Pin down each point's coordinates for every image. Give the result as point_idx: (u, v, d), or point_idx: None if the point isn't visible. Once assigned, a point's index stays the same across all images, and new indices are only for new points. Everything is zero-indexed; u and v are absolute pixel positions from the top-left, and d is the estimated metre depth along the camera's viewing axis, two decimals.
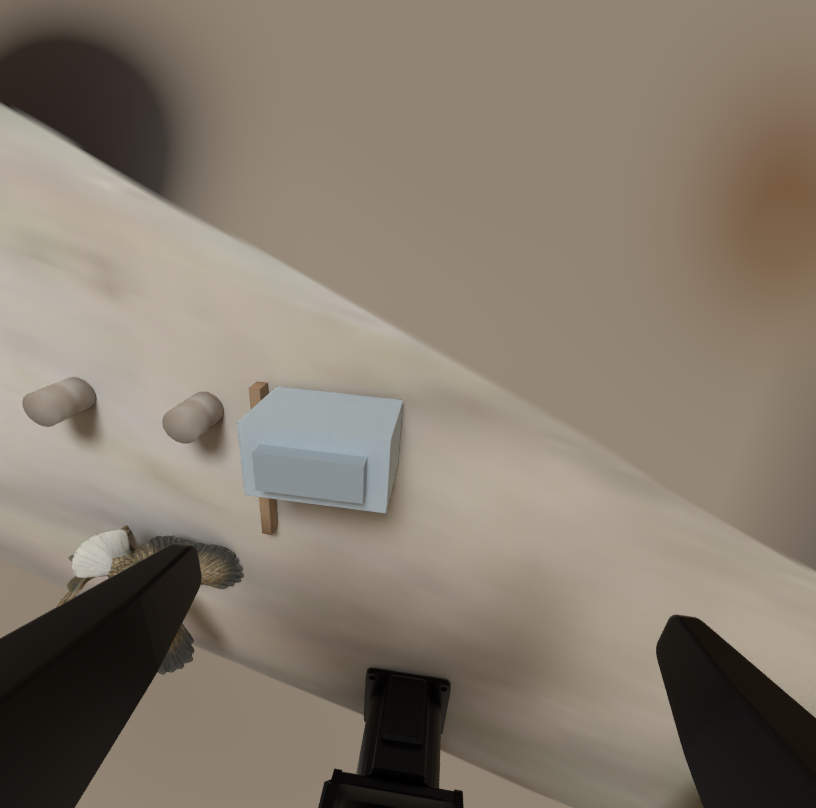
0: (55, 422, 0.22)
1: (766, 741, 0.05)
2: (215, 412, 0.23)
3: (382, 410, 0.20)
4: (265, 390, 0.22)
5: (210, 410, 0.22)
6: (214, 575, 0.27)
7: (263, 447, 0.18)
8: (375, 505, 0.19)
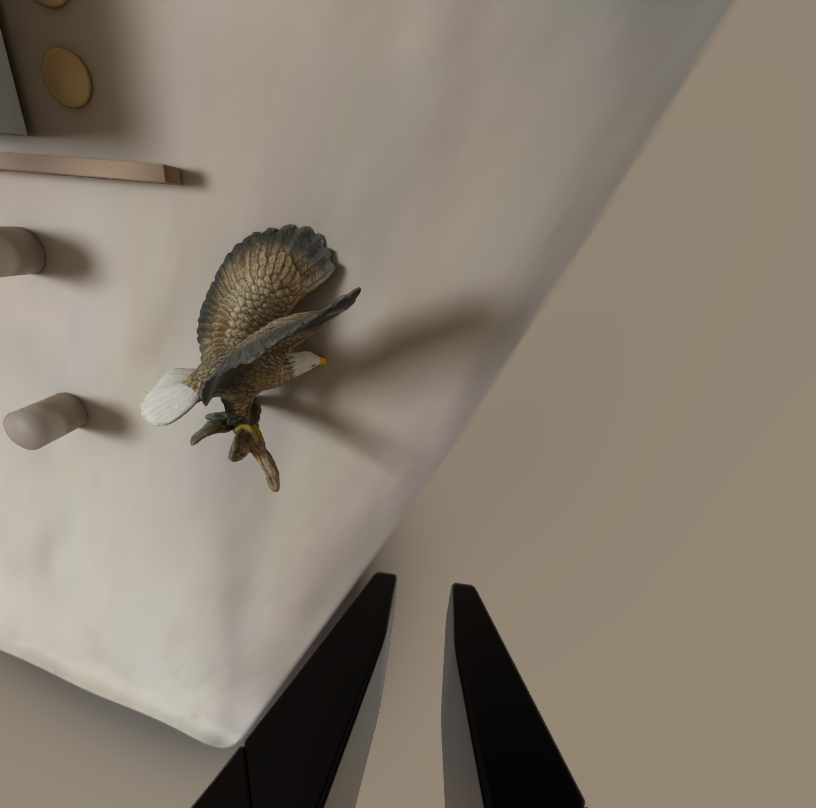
0: (32, 420, 0.19)
1: (459, 691, 0.05)
2: None
3: None
4: None
5: None
6: (271, 260, 0.16)
7: None
8: None
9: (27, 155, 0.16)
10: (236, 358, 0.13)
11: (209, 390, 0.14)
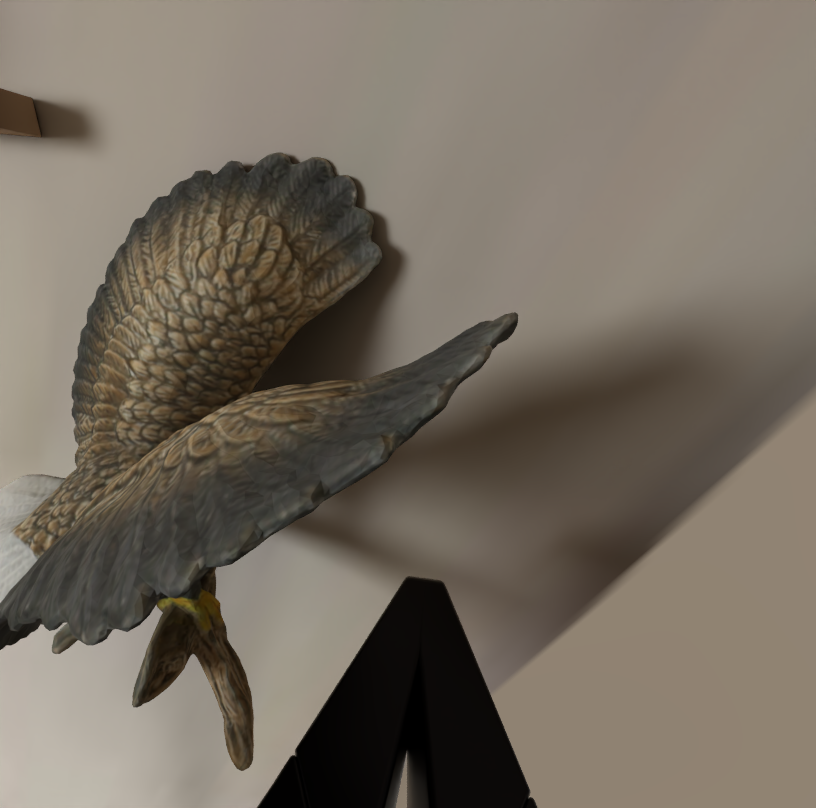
0: None
1: (417, 684, 0.05)
2: None
3: None
4: None
5: None
6: (233, 235, 0.07)
7: None
8: None
9: None
10: (62, 583, 0.03)
11: None
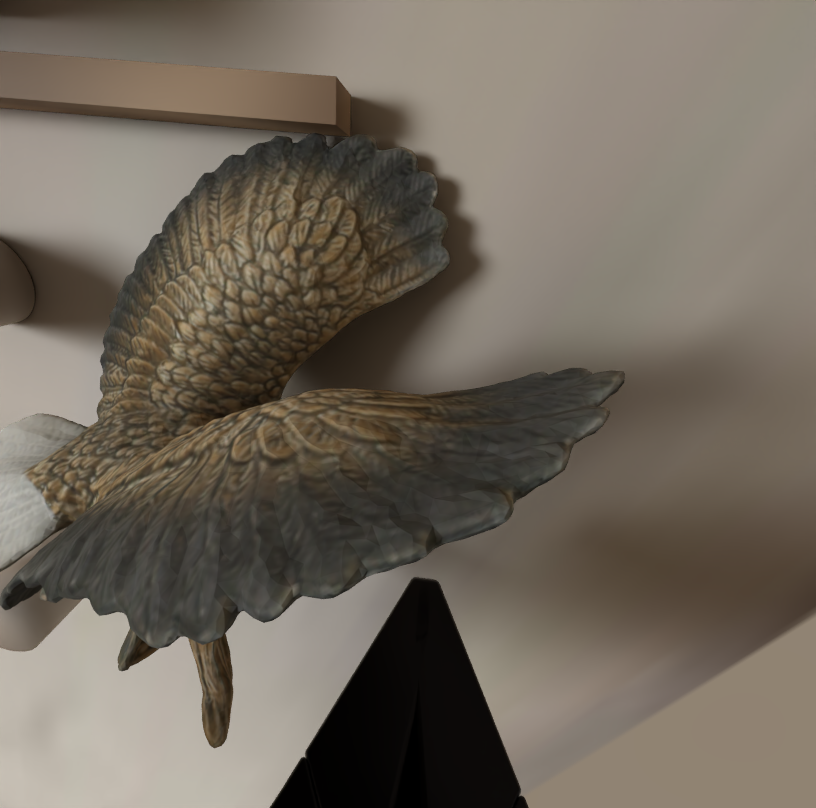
0: (17, 610, 0.10)
1: None
2: None
3: None
4: None
5: None
6: (307, 213, 0.06)
7: None
8: None
9: None
10: (116, 566, 0.03)
11: None
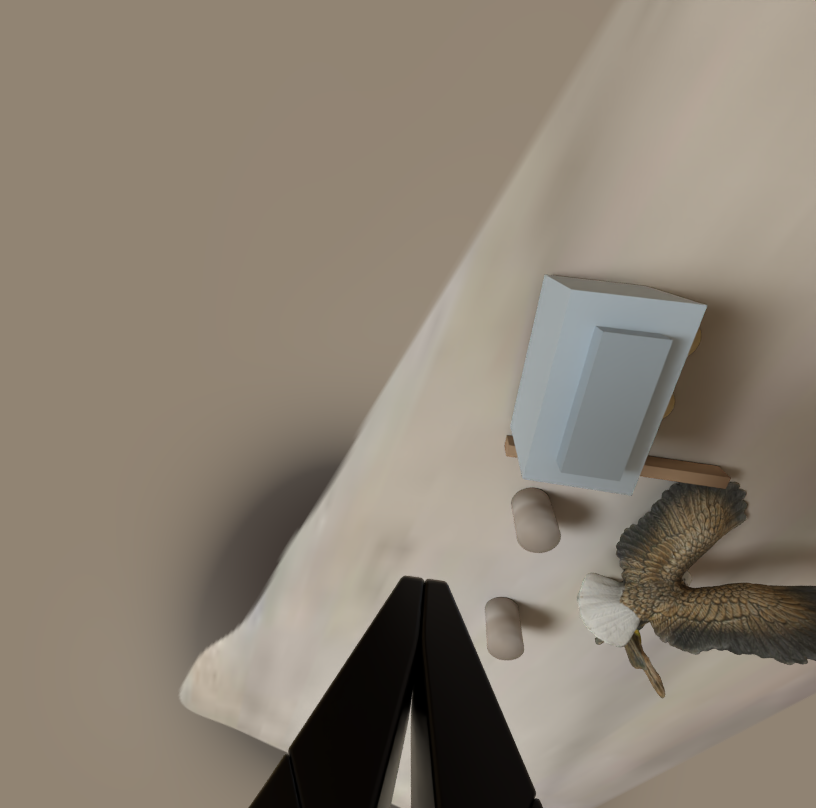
0: (520, 642, 0.22)
1: (421, 685, 0.05)
2: (533, 497, 0.20)
3: (546, 302, 0.15)
4: None
5: (529, 501, 0.20)
6: (712, 513, 0.19)
7: (559, 457, 0.14)
8: (686, 321, 0.12)
9: None
10: (760, 647, 0.16)
11: None
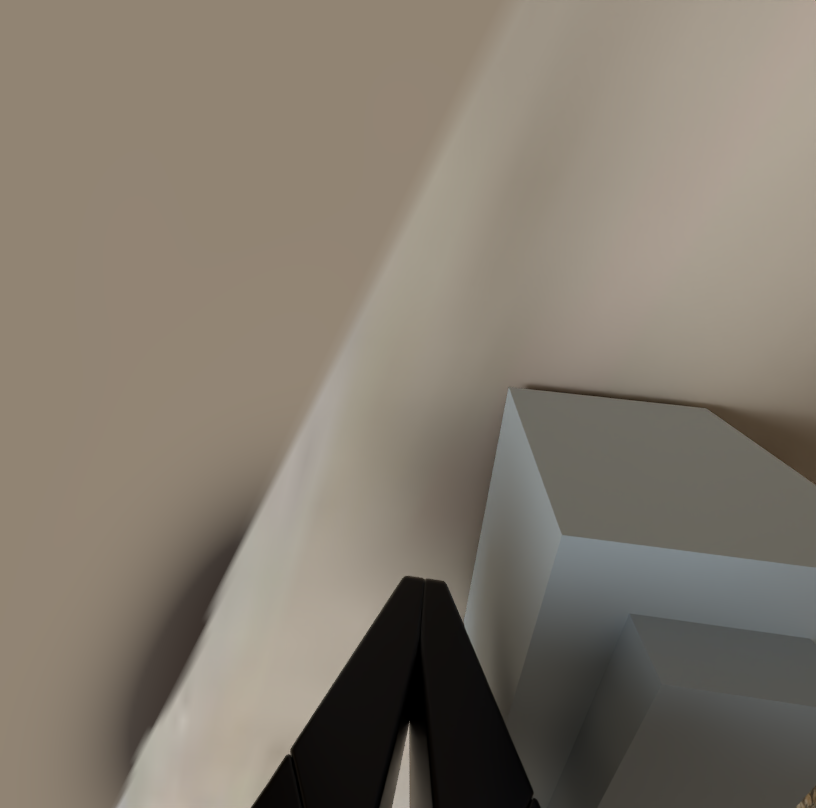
0: None
1: (420, 685, 0.05)
2: None
3: (511, 460, 0.07)
4: None
5: None
6: None
7: None
8: None
9: None
10: None
11: None
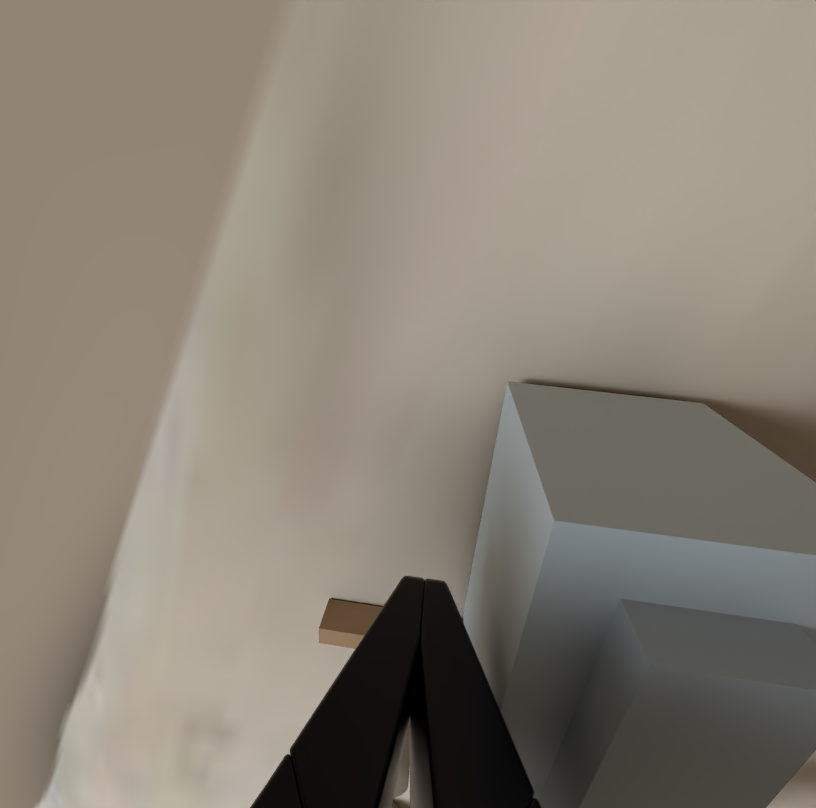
0: None
1: (420, 685, 0.05)
2: None
3: (508, 453, 0.08)
4: (337, 609, 0.12)
5: None
6: None
7: None
8: None
9: None
10: None
11: None
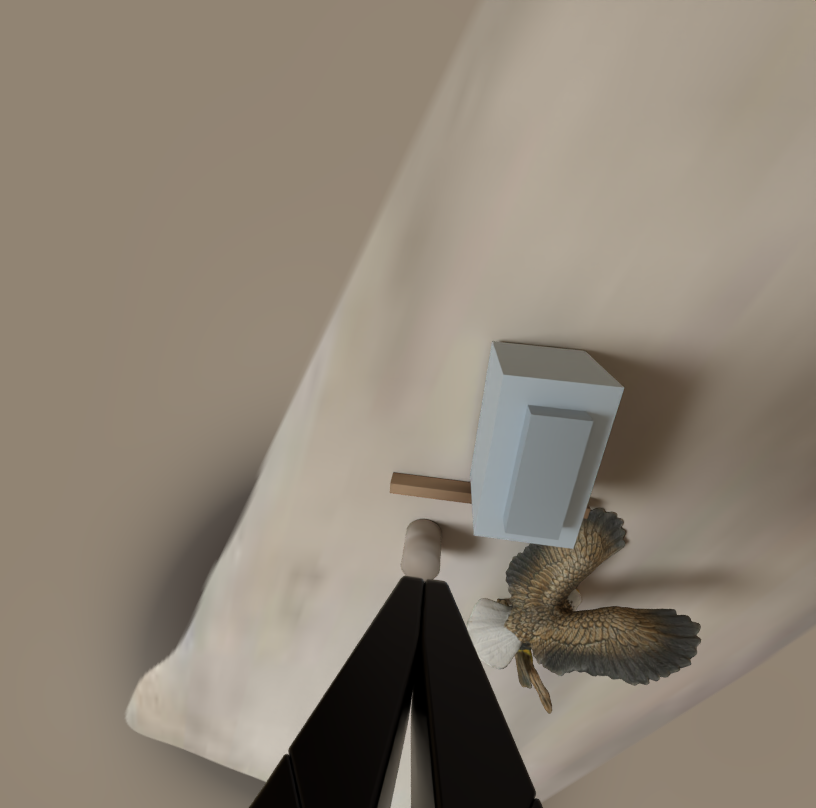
0: None
1: (421, 685, 0.05)
2: (421, 529, 0.22)
3: (492, 370, 0.17)
4: (398, 476, 0.21)
5: (416, 532, 0.22)
6: (589, 541, 0.20)
7: (504, 517, 0.16)
8: (607, 401, 0.14)
9: None
10: (612, 669, 0.17)
11: None
